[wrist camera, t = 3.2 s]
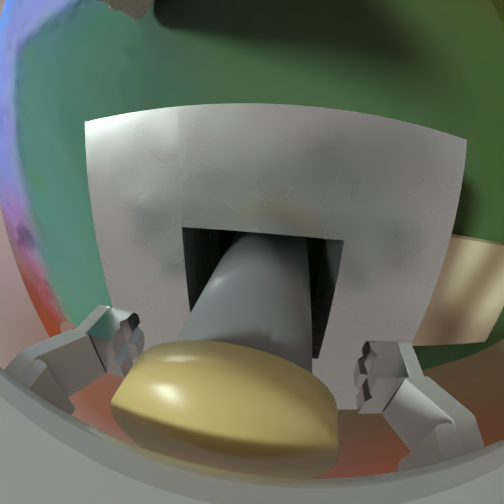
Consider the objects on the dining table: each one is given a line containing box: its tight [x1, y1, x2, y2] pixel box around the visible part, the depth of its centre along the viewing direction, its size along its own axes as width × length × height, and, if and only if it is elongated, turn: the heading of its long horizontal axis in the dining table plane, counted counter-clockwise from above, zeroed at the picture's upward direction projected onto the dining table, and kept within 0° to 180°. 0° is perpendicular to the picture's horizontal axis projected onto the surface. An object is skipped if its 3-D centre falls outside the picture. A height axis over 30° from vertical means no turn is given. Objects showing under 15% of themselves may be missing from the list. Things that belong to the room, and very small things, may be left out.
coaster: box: [411, 234, 504, 346], centre depth 14 cm, size 8×8×1 cm
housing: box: [85, 103, 467, 409], centre depth 13 cm, size 14×14×5 cm
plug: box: [111, 231, 339, 478], centre depth 10 cm, size 5×5×11 cm
